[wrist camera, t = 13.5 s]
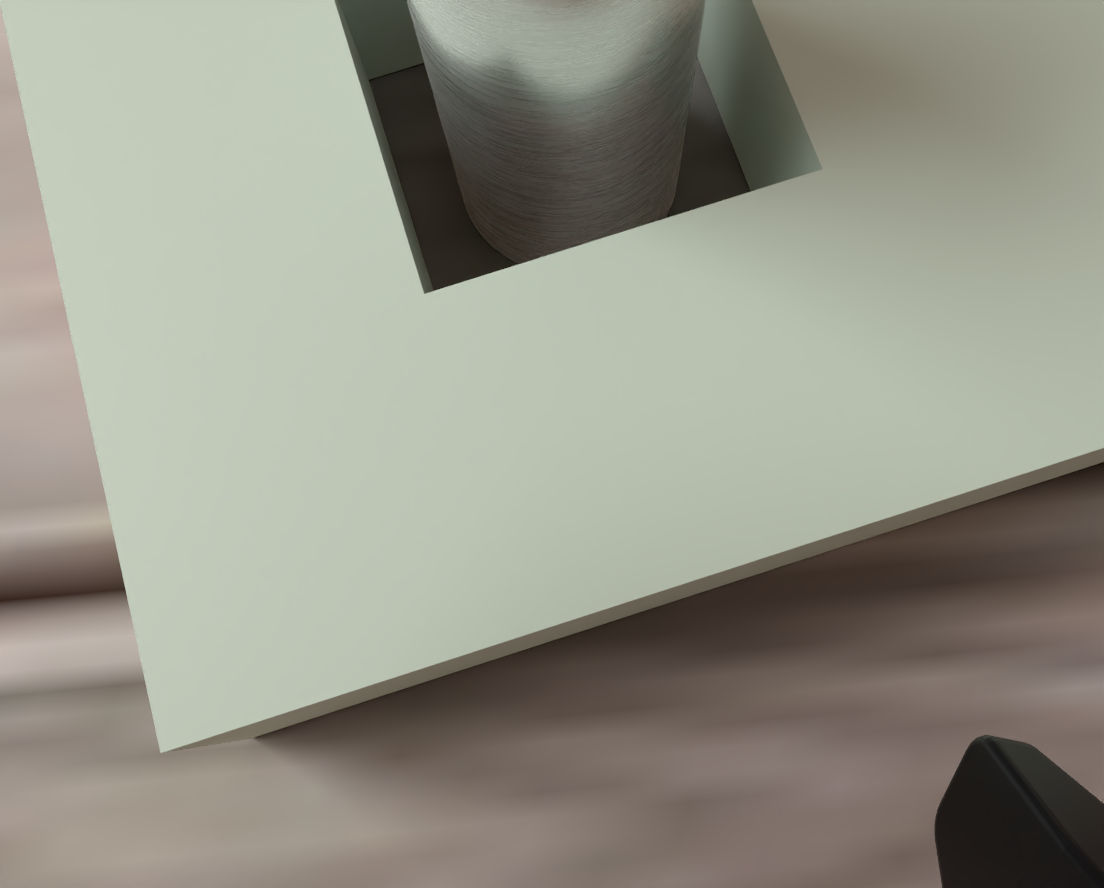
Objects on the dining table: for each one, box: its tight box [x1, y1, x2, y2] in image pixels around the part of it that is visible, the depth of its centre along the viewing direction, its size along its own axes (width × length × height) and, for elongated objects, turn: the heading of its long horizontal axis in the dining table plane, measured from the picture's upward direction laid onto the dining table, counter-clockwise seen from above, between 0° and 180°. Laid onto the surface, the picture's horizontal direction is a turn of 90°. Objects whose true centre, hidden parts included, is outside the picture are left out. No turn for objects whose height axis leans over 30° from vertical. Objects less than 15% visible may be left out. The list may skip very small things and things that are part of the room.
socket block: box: [0, 0, 1104, 753], centre depth 17 cm, size 16×16×4 cm
